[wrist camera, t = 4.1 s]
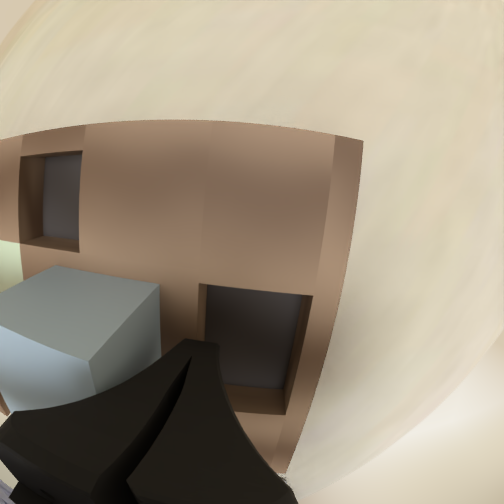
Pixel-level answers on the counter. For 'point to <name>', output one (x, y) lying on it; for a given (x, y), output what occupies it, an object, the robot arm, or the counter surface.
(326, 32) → the counter surface
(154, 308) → the blue block
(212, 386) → the robot arm
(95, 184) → the board
